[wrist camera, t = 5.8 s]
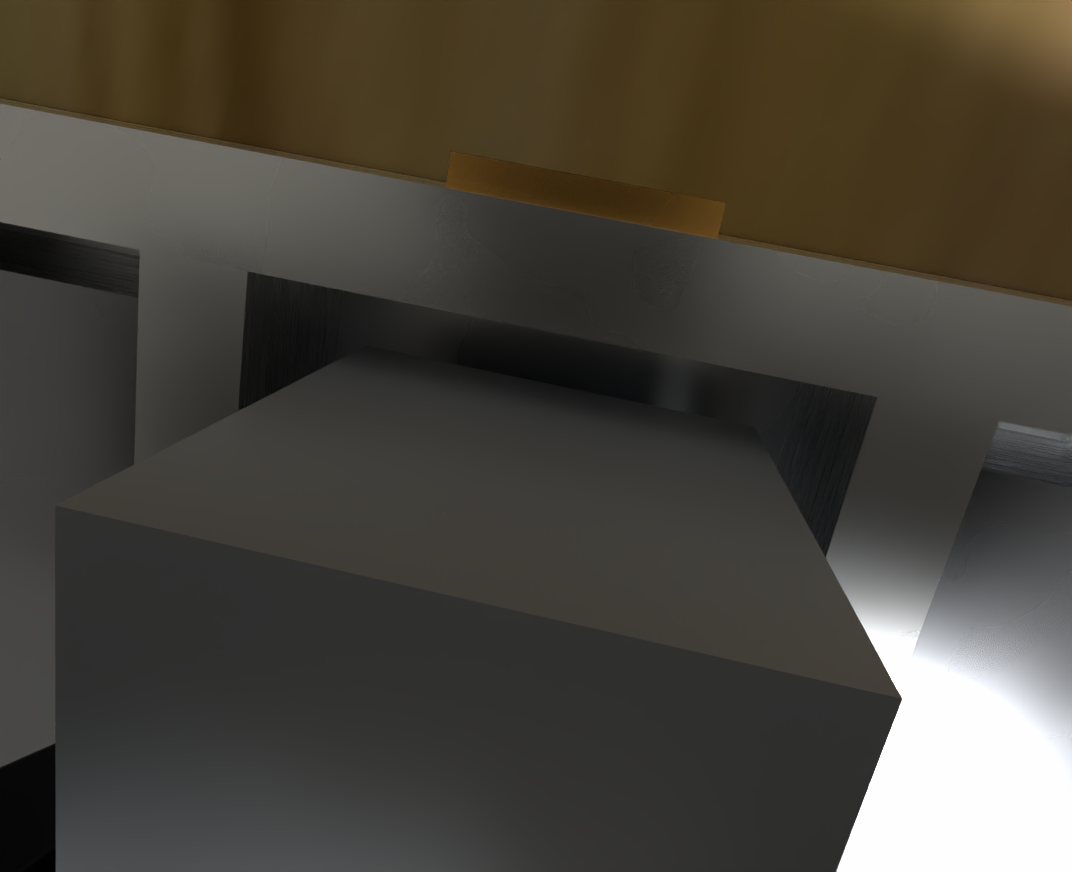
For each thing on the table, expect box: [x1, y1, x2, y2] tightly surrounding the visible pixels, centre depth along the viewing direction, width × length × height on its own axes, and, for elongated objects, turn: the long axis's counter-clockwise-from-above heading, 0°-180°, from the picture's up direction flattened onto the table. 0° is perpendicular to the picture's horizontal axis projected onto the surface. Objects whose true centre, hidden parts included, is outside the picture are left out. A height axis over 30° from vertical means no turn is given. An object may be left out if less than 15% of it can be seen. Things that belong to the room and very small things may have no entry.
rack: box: [0, 98, 1072, 872], centre depth 10 cm, size 18×11×4 cm, turn 79°
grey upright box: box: [55, 346, 902, 872], centre depth 7 cm, size 4×7×4 cm, turn 169°
